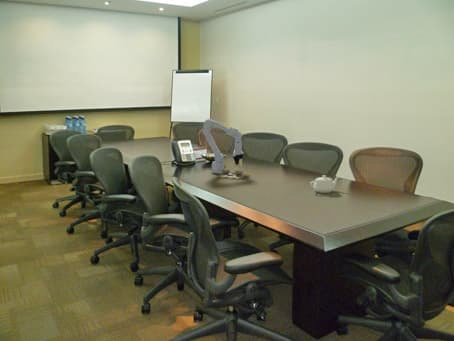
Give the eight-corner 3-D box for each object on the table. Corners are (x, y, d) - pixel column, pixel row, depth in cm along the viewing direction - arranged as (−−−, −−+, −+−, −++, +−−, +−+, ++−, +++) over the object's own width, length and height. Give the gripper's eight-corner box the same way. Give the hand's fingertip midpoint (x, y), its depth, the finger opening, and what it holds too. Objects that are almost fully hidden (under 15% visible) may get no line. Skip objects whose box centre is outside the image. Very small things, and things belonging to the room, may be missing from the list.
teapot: (316, 195, 257) (316, 178, 255) (304, 190, 270) (305, 174, 268) (344, 192, 265) (345, 175, 263) (332, 187, 278) (333, 172, 275)
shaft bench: (218, 177, 312) (218, 170, 310) (227, 173, 323) (227, 167, 322) (237, 179, 303) (237, 172, 302) (246, 176, 315) (246, 169, 314)
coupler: (234, 166, 325) (234, 158, 323) (237, 165, 328) (237, 158, 327) (239, 166, 322) (239, 159, 321) (241, 166, 326) (242, 158, 325)
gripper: (238, 148, 314) (238, 166, 317) (246, 146, 326) (246, 163, 329) (230, 148, 318) (230, 165, 320) (239, 145, 330) (239, 162, 333)
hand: (238, 164), depth 325 cm, fingers closed on coupler, 4 cm apart
